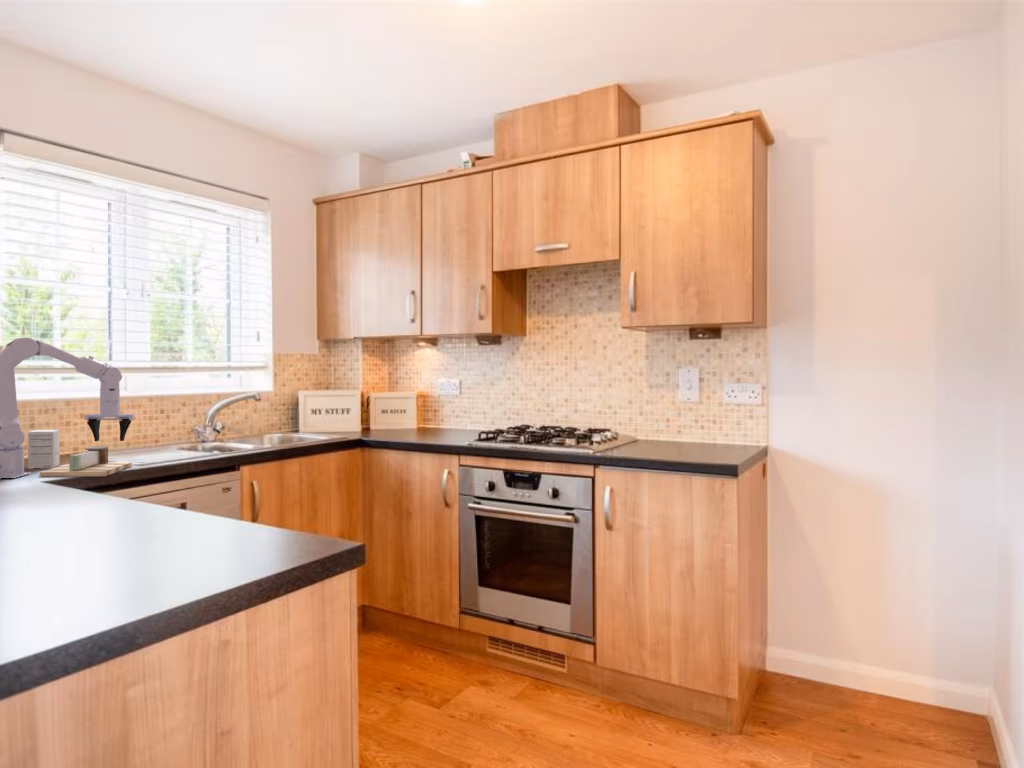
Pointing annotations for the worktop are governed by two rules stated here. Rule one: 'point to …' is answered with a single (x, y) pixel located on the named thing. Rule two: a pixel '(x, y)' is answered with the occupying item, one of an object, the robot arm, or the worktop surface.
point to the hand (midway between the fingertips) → (109, 440)
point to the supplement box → (43, 449)
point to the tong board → (90, 467)
